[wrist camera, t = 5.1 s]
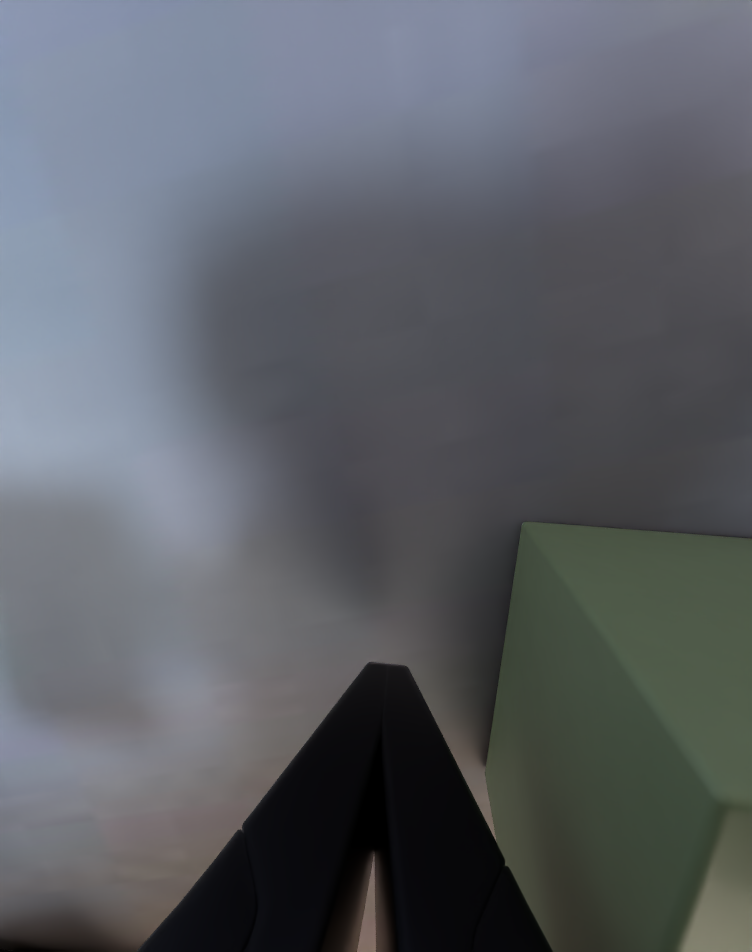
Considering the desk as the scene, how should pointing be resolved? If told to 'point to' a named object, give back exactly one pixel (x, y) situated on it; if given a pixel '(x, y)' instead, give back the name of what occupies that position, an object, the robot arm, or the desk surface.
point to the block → (627, 739)
